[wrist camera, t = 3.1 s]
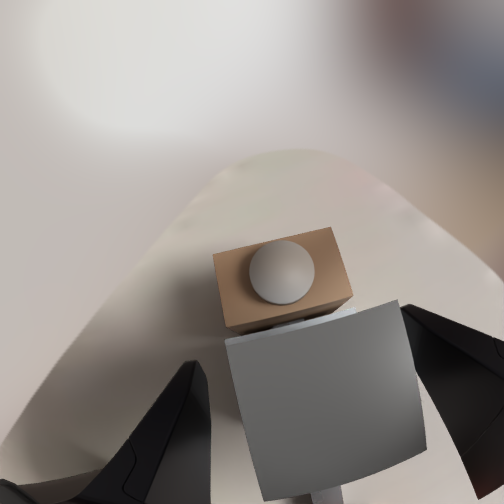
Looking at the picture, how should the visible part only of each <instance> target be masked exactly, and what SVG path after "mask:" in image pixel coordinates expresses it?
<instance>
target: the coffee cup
mask: <svg viewBox="0 0 504 504" xmlns="http://www.w3.org/2000/svg"><path fill="white" fill-rule="evenodd" d="M101 470H102V469H99V470H96V471H92V472H88V473H84V474H80V475H76V476H72V477H67V478H63V479H58V480H52V481H47V482H41V483H34V484H26V485H16V484H15V483H12V482H10V481H7V480H5V479H0V503H1V504H52V503H56V502H61V501H65V500H68V499H70V498H72V497H74V496H76V495H77V494H79V493H80V492H81V491H82V490H83V489H84V488H85V487H86V486H87V485H88V484H89V483H90V482H91V481H92V480H93V479H94V478H95V477H96V476H97V475H98V474H99V472H100V471H101Z"/></svg>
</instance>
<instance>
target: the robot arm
mask: <svg viewBox="0 0 504 504" xmlns="http://www.w3.org/2000/svg"><path fill="white" fill-rule="evenodd" d="M400 310H401V314H402V317H403V321H404V324H405V328H406V332H407V336H408V340H409V344H410V348H411V352H412V357H413V361H414V366H415V370H416V372H417V374H418V376H419V377H420V379H421V381H422V383H423V384H424V386H425V388H426V390H427V392H428V393H429V395H430V397H431V399H432V401H433V403H434V404H435V406H436V408H437V410H438V412H439V414H440V416H441V418H442V420H443V422H444V424H445V426H446V428H447V430H448V432H449V434H450V436H451V438H452V440H453V442H454V444H455V446H456V448H457V450H458V453H459V455H460V457H461V460H462V462H463V464H464V466H465V469H466V471H467V473H468V476H469V478H470V481H471V483H472V486H473V488H474V491H475V493H476V496H477V498H478V500H479V499H481V498H483V497H485V496H486V495H488V494H490V493H491V492H493V491H494V490H496V489H498V488H499V487H501V486H502V485H504V341H502V340H499V339H497V338H495V337H492V336H489V335H487V334H485V333H482V332H480V331H477V330H475V329H472V328H470V327H467V326H465V325H462V324H460V323H457V322H455V321H452V320H450V319H447V318H445V317H442V316H440V315H437V314H435V313H432V312H430V311H427V310H425V309H422V308H420V307H417V306H415V305H412V304H407V305H405V306H402V307H400ZM210 464H211V415H210V406H209V395H208V384H207V378H206V375H205V373H204V372H203V370H202V368H201V366H200V364H199V362H198V361H197V360H190V361H185V362H184V363H183V364H182V366H181V367H180V368H179V370H178V371H177V372H176V374H175V375H174V377H173V378H172V379H171V381H170V382H169V383H168V385H167V386H166V387H165V389H164V390H163V392H162V393H161V394H160V396H159V397H158V398H157V400H156V401H155V402H154V404H153V405H152V407H151V408H150V409H149V411H148V412H147V413H146V415H145V416H144V417H143V419H142V420H141V421H140V423H139V424H138V426H137V427H136V428H135V430H134V431H133V432H132V434H131V435H130V436H129V439H127V440H126V442H125V443H124V444H123V446H122V447H121V448H120V449H119V451H118V452H117V453H116V454H115V456H114V457H113V458H112V459H111V460H110V462H109V463H108V464H107V465H106V466H105V467H104V468H103V469H102V470H101V471H100V472H99V474H98V475H97V476H96V477H95V478H94V479H93V480H92V481H91V482H90V483H89V484H88V485H87V486H86V487H85V488H84V489H83V490H82V491H81V492H80V493H79V494H77V495H76V496H74V497H72V498H70V499H68V500H65V501H61V502H56V503H52V504H211V501H210ZM0 504H1V503H0Z"/></svg>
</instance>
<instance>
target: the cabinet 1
mask: <svg viewBox="0 0 504 504" xmlns="http://www.w3.org/2000/svg"><path fill="white" fill-rule="evenodd" d="M213 259H214V265H215V271H216V276H217V282H218V287H219V293H220V298H221V303H222V309H223V314H224V319H225V324H226V327H227V328H229V329H231V330H233V331H234V332H236V333H238V334H240V335H242V336H244V335H249V334H253V333H258V332H262V331H267V330H271V329H273V328H272V326H276V325H280V324H284V323H288V322H292V321H296V320H300V319H304V321H307V320H311V319H315V318H318V317H322V316H326V315H329V314H332V313H333V312H334V311H335V310H337V309H338V308H339V307H340V306H341V305H343V304H344V303H345V302H346V301H348V300H349V299H350V298H351V297H352V296H353V293H352V289H351V286H350V283H349V279H348V276H347V273H346V270H345V267H344V264H343V261H342V258H341V255H340V252H339V249H338V246H337V243H336V240H335V237H334V234H333V231H332V229H331V227H328V228H324V229H319V230H315V231H311V232H306V233H302V234H298V235H293V236H289V237H285V238H281V239H276V240H272V241H268V242H263V243H259V244H255V245H251V246H246V247H242V248H238V249H234V250H230V251H225V252H221V253H217V254H213Z"/></svg>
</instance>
